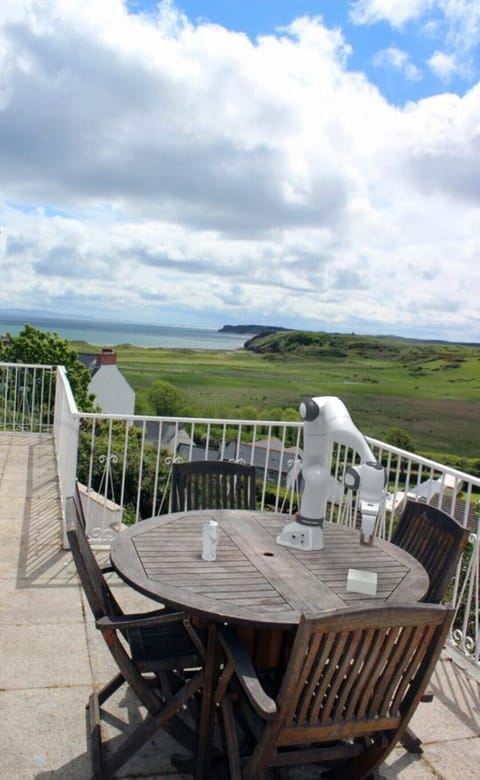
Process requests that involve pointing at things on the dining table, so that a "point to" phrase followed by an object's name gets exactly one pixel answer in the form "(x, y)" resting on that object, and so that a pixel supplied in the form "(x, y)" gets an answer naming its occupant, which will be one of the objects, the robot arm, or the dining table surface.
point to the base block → (362, 582)
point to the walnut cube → (369, 544)
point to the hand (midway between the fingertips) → (366, 539)
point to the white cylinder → (210, 540)
